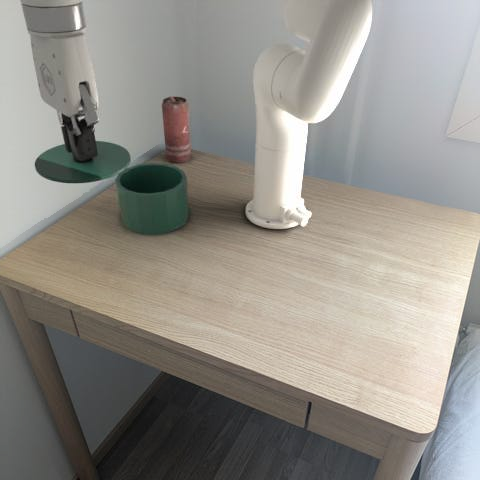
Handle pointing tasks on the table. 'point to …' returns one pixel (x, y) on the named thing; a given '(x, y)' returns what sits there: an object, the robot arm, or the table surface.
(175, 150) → the can
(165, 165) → the pot
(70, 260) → the table surface
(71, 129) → the lid
